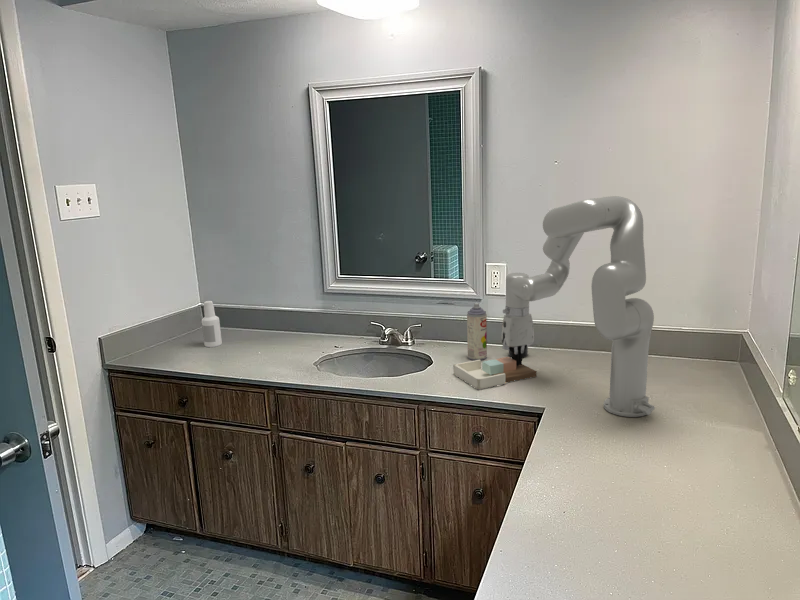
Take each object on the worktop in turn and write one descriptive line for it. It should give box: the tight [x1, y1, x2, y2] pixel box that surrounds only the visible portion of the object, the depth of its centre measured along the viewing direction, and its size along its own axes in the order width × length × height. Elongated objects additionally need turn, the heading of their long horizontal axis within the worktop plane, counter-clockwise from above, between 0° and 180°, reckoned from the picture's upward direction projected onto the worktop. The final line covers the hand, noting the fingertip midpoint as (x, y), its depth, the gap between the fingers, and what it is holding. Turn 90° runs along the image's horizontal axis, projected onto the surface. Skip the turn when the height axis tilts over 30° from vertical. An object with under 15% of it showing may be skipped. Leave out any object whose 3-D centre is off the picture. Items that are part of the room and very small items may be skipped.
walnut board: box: [492, 363, 537, 383], centre depth 204 cm, size 14×12×2 cm
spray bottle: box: [201, 300, 223, 348], centre depth 247 cm, size 7×7×18 cm
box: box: [452, 360, 506, 391], centre depth 199 cm, size 16×10×4 cm, turn 23°
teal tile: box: [481, 358, 504, 375], centre depth 201 cm, size 5×5×3 cm
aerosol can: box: [466, 302, 488, 361], centre depth 218 cm, size 7×7×20 cm
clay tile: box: [495, 356, 516, 372], centre depth 203 cm, size 5×5×3 cm
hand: (516, 364), depth 205 cm, fingers closed
